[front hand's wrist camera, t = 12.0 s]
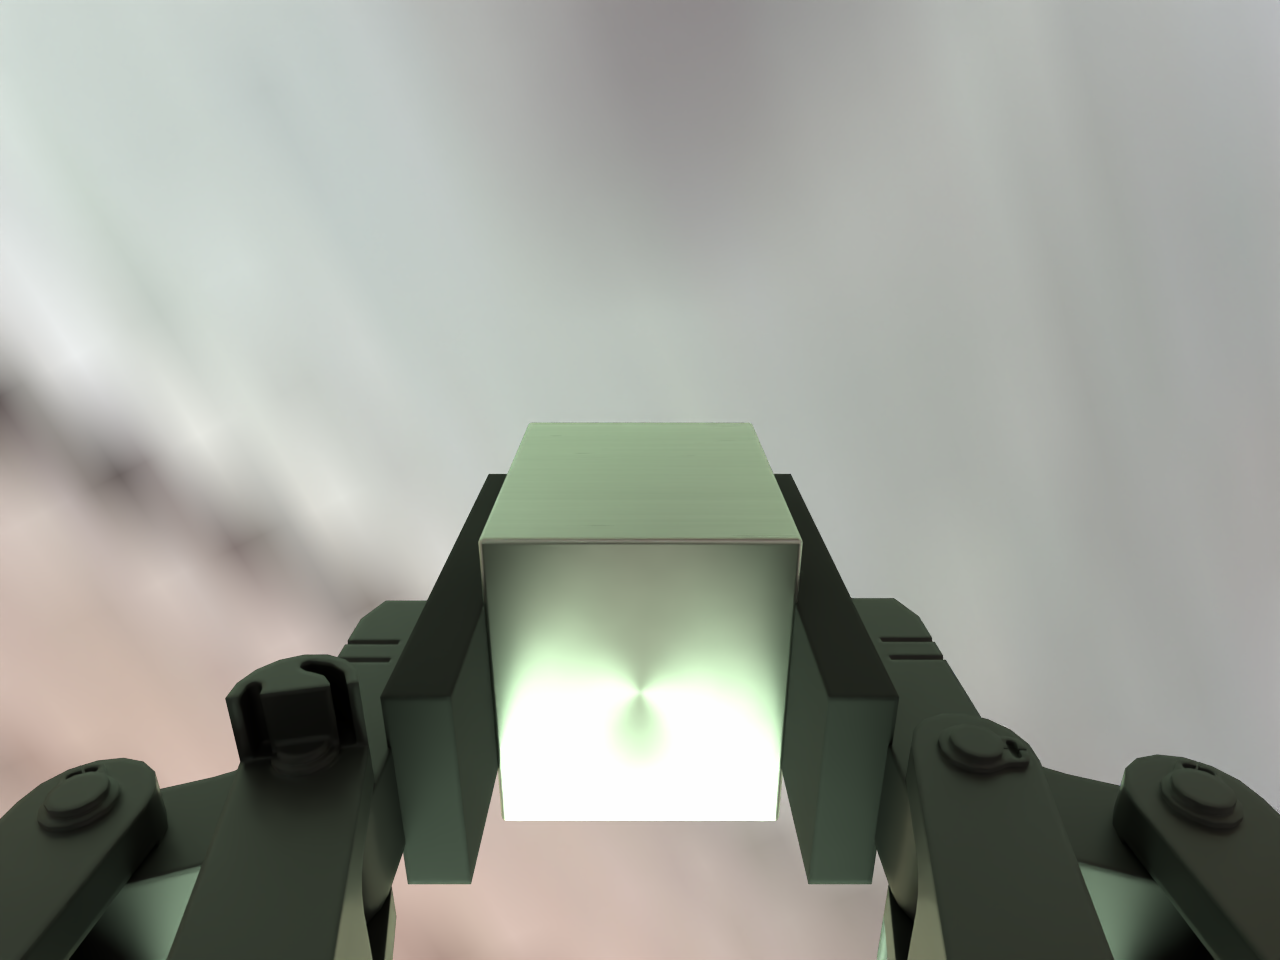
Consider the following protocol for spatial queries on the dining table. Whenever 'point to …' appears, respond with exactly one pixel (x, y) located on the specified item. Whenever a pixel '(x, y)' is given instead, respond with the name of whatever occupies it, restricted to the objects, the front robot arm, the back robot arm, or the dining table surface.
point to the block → (640, 624)
